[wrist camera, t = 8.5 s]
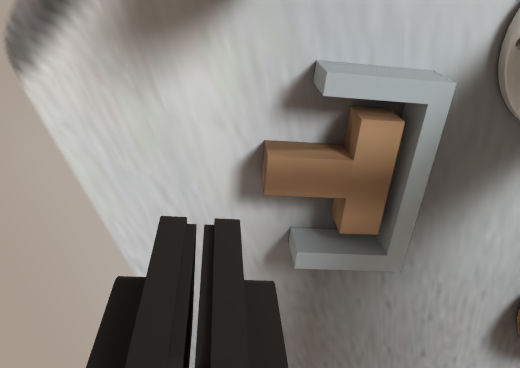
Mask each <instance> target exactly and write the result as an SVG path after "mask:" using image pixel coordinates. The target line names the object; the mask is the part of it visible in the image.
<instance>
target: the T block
mask: <svg viewBox="0 0 520 368" xmlns="http://www.w3.org/2000/svg"><path fill="white" fill-rule="evenodd" d="M404 124H405V121H403V120H402V119H401V118H400V117H399V116H398V115H397V114H396V113H395V112H393V111H392V110H391V109H389V108H373V107H358V106H350V111H349V117H348V122H347V128H346V133H345V139H344V144H343V145H342V144H324V143H306V142H287V141H269V140H264V151H263V161H262V171H261V180H262V185H263V191H264V195H275V196H300V197H324V198H334V199H333V204H332V210H331V215H332V217H333V219H334V222H335V224H336V226H337V229H338V231H339V233H346V234H377V235H378V232H379V228H380V224H381V220H382V215H383V211H384V207H385V203H386V199H387V195H388V191H389V186H390V182H391V178H392V174H393V170H394V166H395V162H396V157H397V153H398V149H399V145H400V141H401V137H402V133H403V128H404Z"/></svg>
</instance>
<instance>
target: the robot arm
mask: <svg viewBox="0 0 520 368" xmlns="http://www.w3.org/2000/svg"><path fill="white" fill-rule="evenodd" d="M498 80H499V85H500V90H501V94H502V97H503V99H504V101H505V103H506V105H507V107H508V108H509V110H510V111H511V112H512V114H513V115H514V116H515V117H516V118H517V119H518V120H520V8H519V9H518V11H517V13H516V15H515V16H514V18H513V20H512V22H511V24H510V25H509V27H508V30H507V33H506V35H505V38H504V41H503V44H502V47H501V52H500V58H499V65H498ZM195 248H196V224H187V217H171V216H161V217H160V221H159V225H158V230H157V234H156V238H155V242H154V246H153V251H152V255H151V259H150V263H149V267H148V272H147V276H146V277H123V276H118V277H117V278H116V280H115V282H114V285H113V288H112V291H111V294H110V297H109V300H108V303H107V306H106V309H105V312H104V315H103V318H102V321H101V324H100V327H99V330H98V333H97V336H96V339H95V342H94V345H93V349H92V351H91V354H90V357H89V360H88V363H87V366H86V368H189V361H190V348H191V336H192V320H193V297H194V272H195ZM195 368H288V363H287V356H286V350H285V344H284V338H283V331H282V325H281V319H280V313H279V306H278V300H277V294H276V288H275V283H274V282H273V281H254V280H244V275H243V259H242V244H241V229H240V220H237V219H215V222H214V225H204V239H203V254H202V269H201V283H200V298H199V313H198V328H197V343H196V358H195Z"/></svg>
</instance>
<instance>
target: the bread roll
mask: <svg viewBox="0 0 520 368" xmlns="http://www.w3.org/2000/svg"><path fill="white" fill-rule="evenodd" d="M516 319H517V328H518V333H519V335H520V309H519V311H518V316H517V318H516Z"/></svg>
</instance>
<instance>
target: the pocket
mask: <svg viewBox="0 0 520 368" xmlns="http://www.w3.org/2000/svg"><path fill="white" fill-rule="evenodd" d="M313 83H314V84H315V85H316V87H317V88H318V89H319V91H320V92H321V94H322V95H323V96H331V97H344V98H356V99H369V100H382V101H394V102H405V106H404V110H403V114H402V118H401V119H402V120H403V121H405V124H404V128H403V133H402V137H401V141H400V145H399V149H398V153H397V157H396V162H395V166H394V170H393V174H392V178H391V182H390V186H389V191H388V195H387V199H386V203H385V207H384V211H383V215H382V220H381V224H380V228H379V232H378V235H377V234H346V233H339V231H338V229H317V228H295V227H291V230H290V236H289V247H290V251H291V255H292V259H293V264H294V268H296V269H325V270H354V271H383V272H401V270H402V267H403V263H404V260H405V257H406V253H407V250H408V247H409V243H410V240H411V236H412V233H413V230H414V226H415V223H416V220H417V216H418V213H419V209H420V206H421V203H422V199H423V196H424V192H425V189H426V186H427V182H428V179H429V176H430V172H431V169H432V165H433V162H434V159H435V155H436V152H437V149H438V145H439V142H440V138H441V135H442V132H443V128H444V125H445V121H446V118H447V115H448V111H449V108H450V105H451V101H452V98H453V94H454V91H455V88H456V84H457V83H456V82H454V81H452V80H450V79H448V78H446V77H444V76H443V75H441V74H439V73H437V72H435V71H430V70H419V69H408V68H396V67H385V66H373V65H362V64H351V63H339V62H328V61H317V60H316V67H315V73H314V80H313Z"/></svg>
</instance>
